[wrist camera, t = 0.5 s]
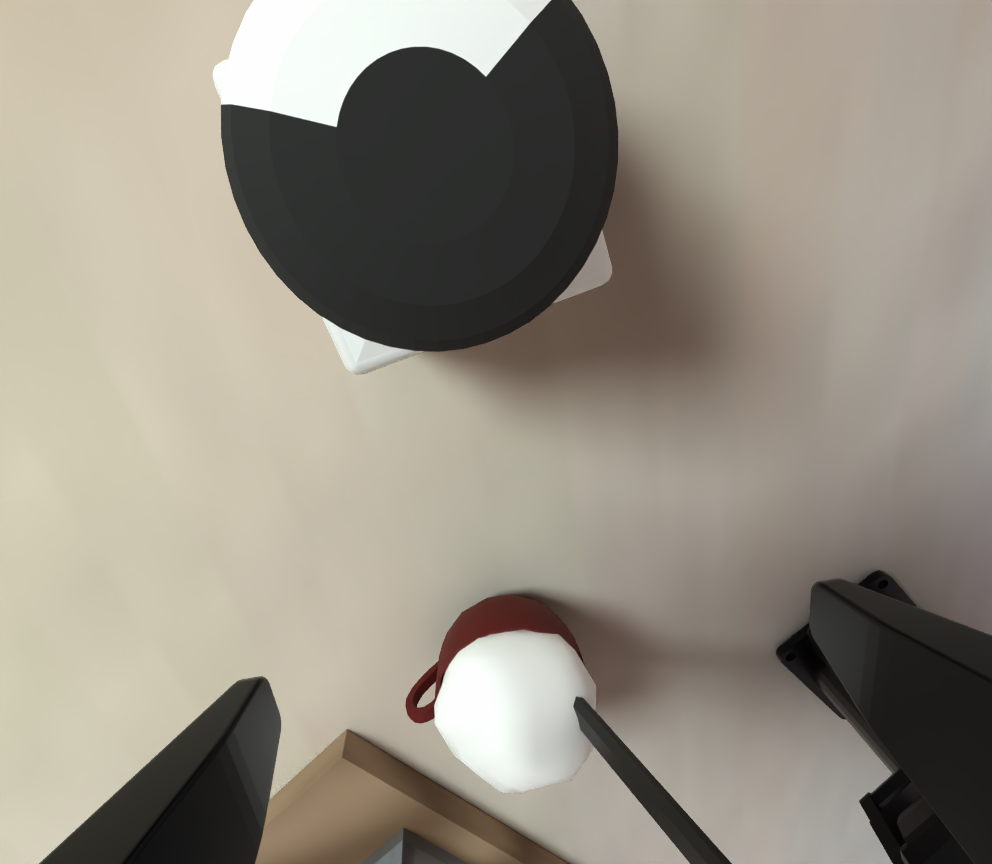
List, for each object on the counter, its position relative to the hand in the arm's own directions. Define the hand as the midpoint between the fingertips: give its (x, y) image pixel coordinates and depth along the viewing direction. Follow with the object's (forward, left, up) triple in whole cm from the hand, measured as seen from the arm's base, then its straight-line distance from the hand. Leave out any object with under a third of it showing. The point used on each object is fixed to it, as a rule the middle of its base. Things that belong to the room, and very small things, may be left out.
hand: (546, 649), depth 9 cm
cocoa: (-9, +7, -14) cm, 18 cm away
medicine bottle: (+6, -4, -14) cm, 16 cm away
